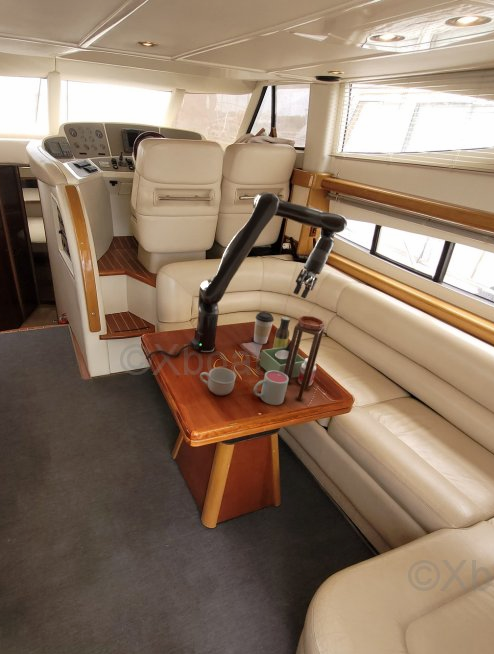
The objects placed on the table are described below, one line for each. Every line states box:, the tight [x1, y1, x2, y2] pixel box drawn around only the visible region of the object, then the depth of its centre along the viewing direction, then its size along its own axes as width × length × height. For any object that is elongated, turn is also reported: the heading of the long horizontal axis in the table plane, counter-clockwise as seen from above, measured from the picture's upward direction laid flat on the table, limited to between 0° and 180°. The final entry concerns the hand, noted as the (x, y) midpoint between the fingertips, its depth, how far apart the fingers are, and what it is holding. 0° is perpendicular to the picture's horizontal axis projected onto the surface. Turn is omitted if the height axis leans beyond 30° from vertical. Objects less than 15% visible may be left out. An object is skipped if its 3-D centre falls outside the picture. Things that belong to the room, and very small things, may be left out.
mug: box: [253, 371, 289, 406], centre depth 151 cm, size 14×9×10 cm
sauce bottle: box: [272, 316, 291, 349], centre depth 180 cm, size 6×6×20 cm
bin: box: [258, 347, 306, 379], centre depth 172 cm, size 14×14×8 cm
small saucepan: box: [275, 339, 292, 365], centre depth 176 cm, size 17×6×6 cm, turn 148°
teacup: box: [199, 366, 237, 396], centre depth 153 cm, size 14×11×8 cm
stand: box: [284, 315, 327, 401], centre depth 152 cm, size 10×9×32 cm
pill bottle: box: [297, 357, 317, 387], centre depth 163 cm, size 6×6×11 cm
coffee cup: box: [253, 311, 275, 345], centre depth 195 cm, size 9×9×15 cm
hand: (299, 295), depth 170 cm, fingers open, 8 cm apart
